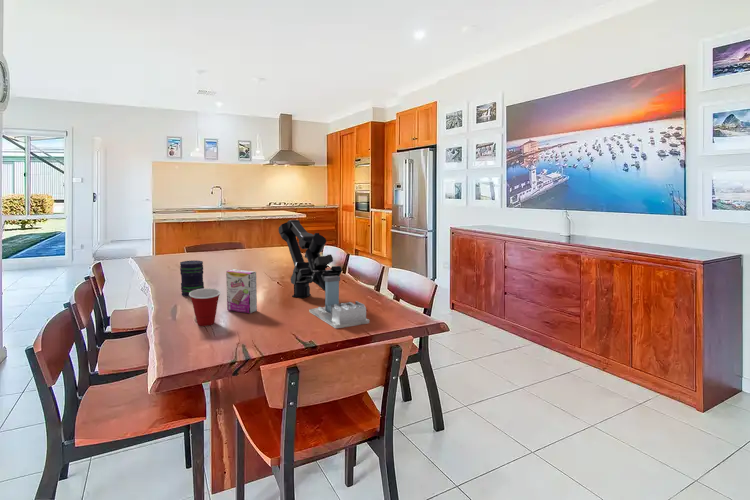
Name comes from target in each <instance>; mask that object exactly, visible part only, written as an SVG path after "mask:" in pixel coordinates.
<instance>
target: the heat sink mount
mask: <svg viewBox="0 0 750 500" xmlns="http://www.w3.org/2000/svg"><path fill="white" fill-rule="evenodd" d="M308 310H309V311H308V312H309V313H310V314H312V315H314V316H315V317H316V318H318V319H320V320H321V321H323V322H325V323H326V324H328V325H330V326H331V327H332V328H334V329H343V328H349V327H354V326H361V325H366V324H370V319H369V318H367V307H366V306H365V303H362V302H359V301H358V300H355V301H354V302H352V301H348V302H341V303H340V302H339V304H333V305H331V312H329V311H327V310H326V309H325V306H323V307H321V306H318V307H315V308H309V309H308Z"/></svg>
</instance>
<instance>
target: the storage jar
mask: <svg viewBox="0 0 750 500" xmlns="http://www.w3.org/2000/svg"><path fill="white" fill-rule="evenodd" d="M179 270H180V276H181V283H180V290H181V296H182V297H187V298H188V297H189V298H191V297H190V296H189V292H191V291H193V290H197V289H205V282H204V261H203V260H184V261H180V262H179Z"/></svg>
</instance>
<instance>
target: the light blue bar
mask: <svg viewBox="0 0 750 500" xmlns="http://www.w3.org/2000/svg"><path fill="white" fill-rule="evenodd" d="M324 281H325V291H324V292H325V293H324V299H325V300H324V301H325V302H324V304H325V305H324V307H325V309H326V310H327V311H329V312H331V305H333V304H340V298H339V297H340V281H341V276H337V275H336V276H326V277H324Z"/></svg>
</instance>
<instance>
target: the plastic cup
mask: <svg viewBox="0 0 750 500" xmlns="http://www.w3.org/2000/svg"><path fill="white" fill-rule="evenodd" d="M221 292H222V291H221V290H220V289H217V288H208V287H207V288H205V287H204V289H197V290H193V291H191V292H189V296H190V297H189V298H190V300H191V303H192V307H193V311H194V316H195V319H196V323H197V326H200V327H205V326H206V327H208V326H212V325H214V324H215V321H216V314H217V309H218V303H219V299H220V295H221ZM207 325H208V326H207Z"/></svg>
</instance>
